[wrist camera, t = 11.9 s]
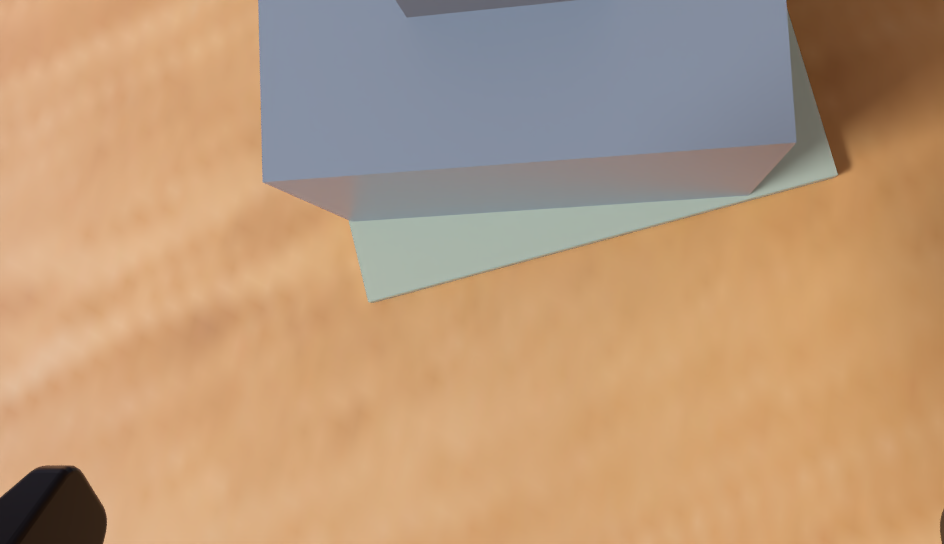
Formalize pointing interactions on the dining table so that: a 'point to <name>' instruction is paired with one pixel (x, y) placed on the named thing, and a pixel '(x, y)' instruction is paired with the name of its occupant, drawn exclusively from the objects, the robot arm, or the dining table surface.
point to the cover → (520, 102)
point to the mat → (561, 218)
